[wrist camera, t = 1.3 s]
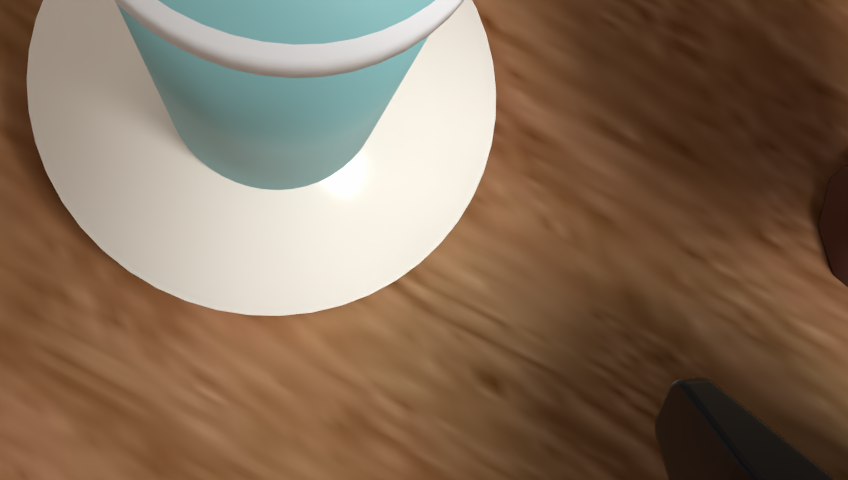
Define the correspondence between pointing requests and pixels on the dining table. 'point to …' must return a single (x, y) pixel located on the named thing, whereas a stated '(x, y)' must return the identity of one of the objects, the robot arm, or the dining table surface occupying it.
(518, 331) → the dining table surface
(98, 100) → the cream saucer
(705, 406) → the robot arm
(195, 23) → the teal canister
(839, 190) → the ice cream bowl
